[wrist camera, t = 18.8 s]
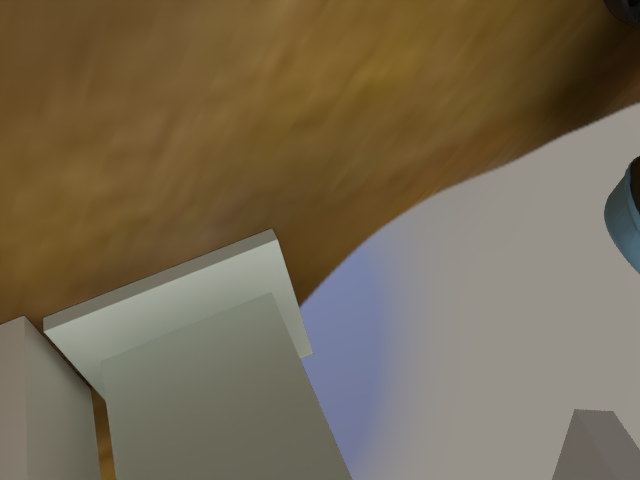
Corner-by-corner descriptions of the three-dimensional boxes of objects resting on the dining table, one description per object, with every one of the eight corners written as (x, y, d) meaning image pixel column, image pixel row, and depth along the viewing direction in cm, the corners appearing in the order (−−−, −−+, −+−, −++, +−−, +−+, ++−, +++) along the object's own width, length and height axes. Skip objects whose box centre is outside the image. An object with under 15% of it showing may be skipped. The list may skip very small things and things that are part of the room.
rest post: (-78, 355, 45) (-115, 628, 32) (24, 315, 47) (29, 563, 33) (6, 424, 54) (4, 662, 41) (90, 389, 55) (115, 610, 42)
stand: (42, 317, 47) (66, 790, 27) (271, 228, 50) (450, 594, 30) (130, 418, 60) (190, 789, 40) (308, 342, 63) (449, 653, 43)
